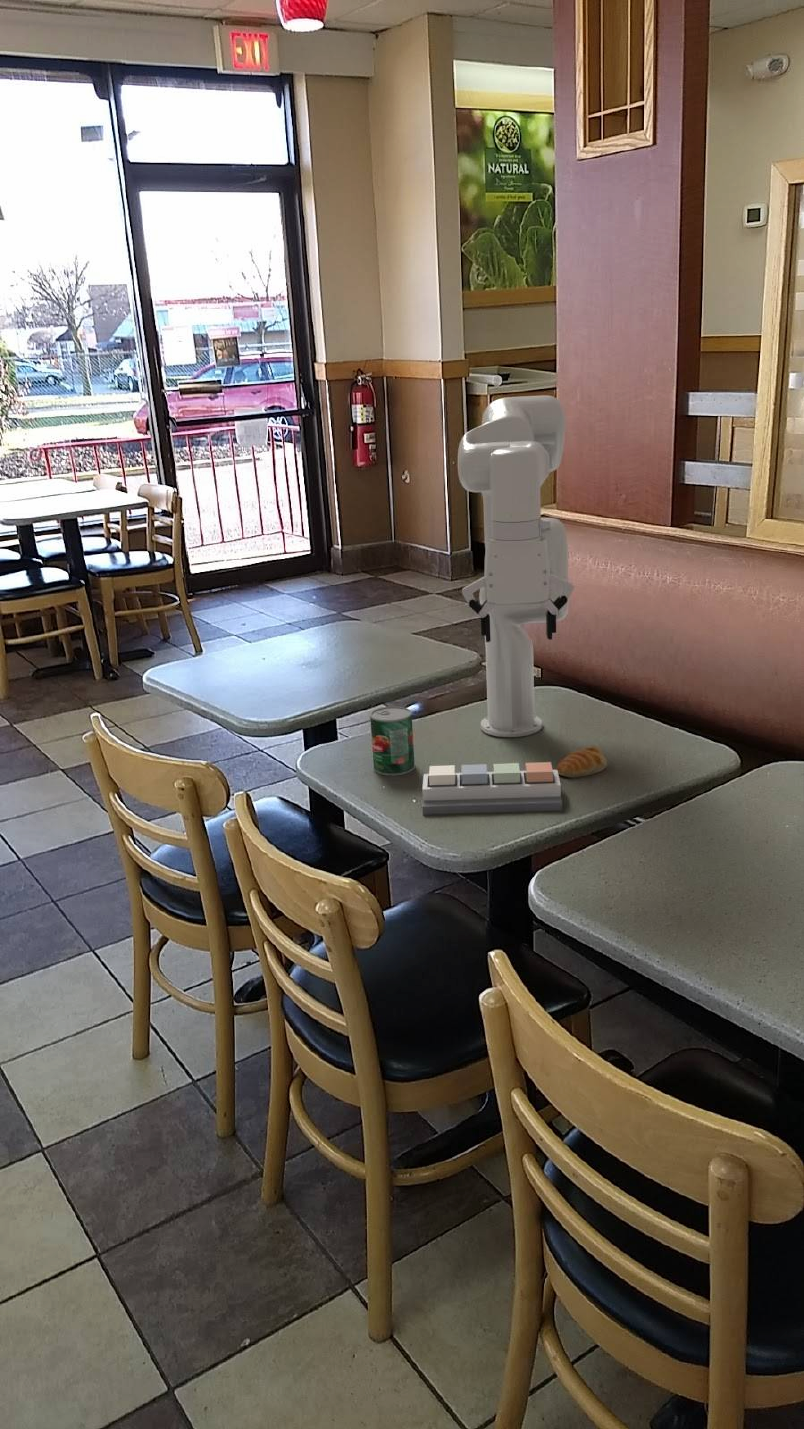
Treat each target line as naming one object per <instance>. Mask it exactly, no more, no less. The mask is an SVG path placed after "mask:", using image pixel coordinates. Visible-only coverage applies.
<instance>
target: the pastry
mask: <svg viewBox="0 0 804 1429" xmlns="http://www.w3.org/2000/svg"><path fill="white" fill-rule="evenodd" d="M607 765H608V763H607V761H606V758H605V755H603V752H602V750H600V748H597V747H595V746H589V747H588V746H585V747H584V748H583V749H578V750H575V751H572V752H570V753H569V754H568V755H567V756H566V757H565V758H563V759H562V760H561V761H560V762H559V763H558V765H557V771H558V775H560V776H563V777H567V778H571V779H573V778H580V777H587V776H590V775H593V774H597V773H600V772H602V771H604V770H605V769H606V768H607Z"/></svg>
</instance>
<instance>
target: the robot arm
mask: <svg viewBox="0 0 804 1429" xmlns="http://www.w3.org/2000/svg"><path fill="white" fill-rule="evenodd" d="M481 420H482V421H481V425H479V426H477V427H475V428H473V429H471V430H469V431H467V432H465V434H464V435H463V436H462V437H461V440H460V442H459V444H458V451H457V474H458V475H457V476H458V479H459V483H460V484H461V487H462V488H463V489H465V491H467V492H469V493H470V492H472V493H481V496H482V501H483V526H484V527H483V530H484V548H485V554H484V572H483V574H484V576H482V577H480V578H479V579H476V580H475V581H473V582H471V583H470V584H468V585H466V586H464V587H462V589H461V594H462V596H463V598H464V599H465V601H466V602H467V605H468V606H469V608H471V609H472V610H473V611H474V612H475V613H476V614H477V615H479V617H480V631H481V633H480V635H481V637H484V645H485V666H486V668H485V673H486V675H485V676H486V698H487V700H486V701H487V702H486V703H487V704H486V705H487V716H486V717H483V719H482V720H481V721H480V729H481V731H482V732H483V733H485V734H487V735H489V736H493V737H494V736H495V737H499V738H519V737H527V736H531V735H533V734H536V733H538V732H539V731H540V730H542V728H543V721H542V719H541V718H540V717H539V716H537V715H535V685H534V683H535V682H534V681H535V679H534V678H535V676H534V674H535V673H534V645H533V642H532V639H531V638H530V636H529V635H528V633H527V632H526V631H525V630H524V629H523V628H522V627H521V626H520V625H523V624H524V625H525V624H534V623H535V624H536V623H538V624H539V623H545V632H546V633H545V634H546V639H547V640H552V641H553V634H557V622H559V621H562V620H564V619H565V618H566V617H567V614H568V612H569V604H570V603H569V602H570V597H571V595H572V594H573V591H574V590H575V589H574V588H575V586H574V584H573V583H572V582H570V581H569V555H568V554H569V553H568V552H569V550H568V548H569V547H568V538H567V537H568V536H567V532H566V528H565V525H564V524H563V522H562V521H560V519H558V518H555V517H541V516H542V515H541V514H542V513H541V511H542V510H541V507H542V506H541V505H542V502H541V501H542V500H541V487H542V485H543V484H544V483H545V481H546V479H547V478H548V477H549V474H550V473H552V472H554V471H556V470H557V469H558V468H559V467H560V465H561V462H562V459H563V452H564V443H565V437H566V429H567V428H566V427H567V426H566V425H567V424H566V423H567V422H566V415H565V411H564V407H563V405H562V403H561V402H560V400H558V398H556V397H554V396H553V395H547V394H546V395H545V394H543V395H527V396H511V397H510V396H509V397H508V396H507V397H502V398H499V399H496V400H494V401H492V402H490V403H489V404H488V405H487V406H486V408H485V409H484V411H483V414H482V418H481ZM477 591H479V594H478V595H479V597H478V598H479V601H478V600H477V599H476V598H475V597H474V593H475V592H477Z"/></svg>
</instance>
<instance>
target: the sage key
mask: <svg viewBox="0 0 804 1429" xmlns="http://www.w3.org/2000/svg"><path fill="white" fill-rule="evenodd" d="M520 771H521V770H520V764H519V762H514V763H513V762H512V763H510V762H509V763H493V772H494V783H516V782H520Z"/></svg>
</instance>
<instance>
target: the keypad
mask: <svg viewBox="0 0 804 1429" xmlns="http://www.w3.org/2000/svg"><path fill="white" fill-rule="evenodd" d="M552 770H553V781H548V782H527V777H526V770H520V782H516V783H494V771H487V783H485V784H462V772H455V784H453V785H429V773H424V774H423V778H422V790H421V791H422V815H424V816H425V815H427V816H428V815H453V814H454V815H455V814H484V813H485V814H486V813H487V814H488V813H489V814H491V813H520V812H523V813H524V812H525V813H527V812H551V811H554V812H555V811H558V812H559V811H561V812H562V811H563V801H562V796H561V794H562V792H561V791H562V788H561V787H562V786H561V784H562V783H561V781H560V776H559V775H560V774H558V769H552Z"/></svg>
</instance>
